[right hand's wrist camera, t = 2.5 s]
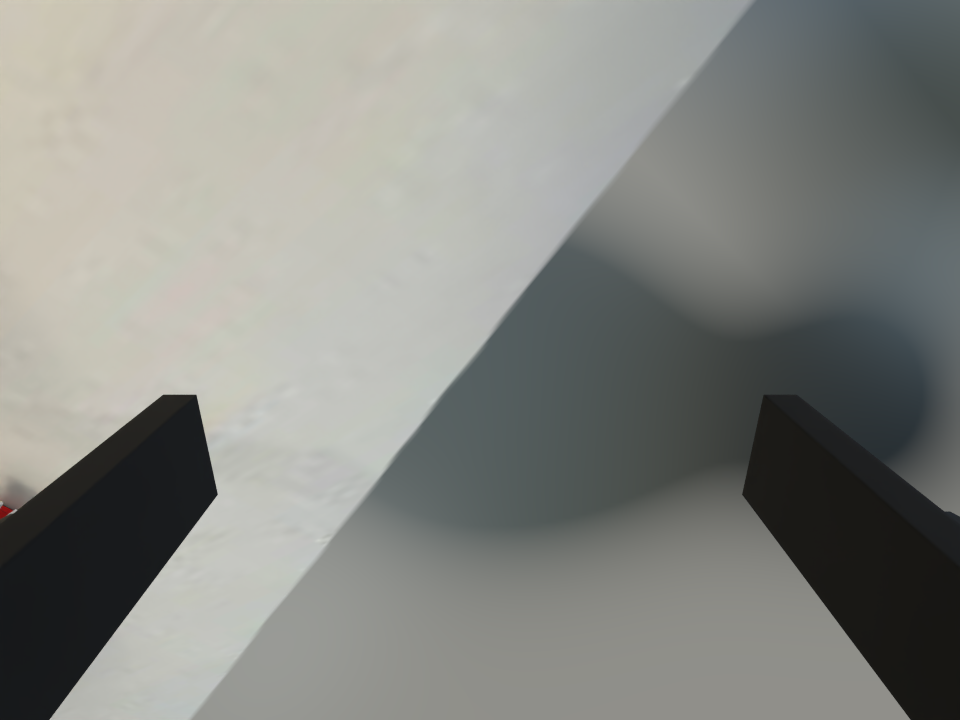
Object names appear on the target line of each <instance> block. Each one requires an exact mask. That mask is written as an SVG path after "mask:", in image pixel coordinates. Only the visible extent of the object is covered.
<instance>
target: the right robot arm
mask: <svg viewBox="0 0 960 720" xmlns="http://www.w3.org/2000/svg"><path fill="white" fill-rule="evenodd" d="M217 495H218V494H217V489H216V484H215V480H214V475H213V470H212V466H211V461H210V456H209V452H208V447H207V442H206V438H205V433H204V428H203V424H202V419H201V414H200V410H199V405H198V400H197V396H196V395H162V396H161V397H160V398H159V399H157V400H156V401H155V402H154V403H152V404H151V405H150V406H148V407H147V408H146V409H145V410H143V411H142V412H141V413H140V414H138V415H137V416H136V417H135V418H133V419H132V420H131V421H130V422H128V423H127V424H126V425H125V426H123V427H122V428H121V429H119V430H118V431H117V432H116V433H114V434H113V435H112V436H111V437H109V438H108V439H107V440H106V441H104V442H103V443H102V444H101V445H99V446H98V447H97V448H95V449H94V450H93V451H92V452H90V453H89V454H88V455H87V456H85V457H84V458H83V459H82V460H80V461H79V462H78V463H77V464H75V465H74V466H73V467H71V468H70V469H69V470H68V471H66V472H65V473H64V474H63V475H61V476H60V477H59V478H58V479H56V480H55V481H54V482H53V483H51V484H50V485H49V486H47V487H46V488H45V489H44V490H42V491H41V492H40V493H39V494H37V495H36V496H35V497H34V498H32V499H31V500H30V501H29V502H27V503H26V504H25V505H24V506H22V507H21V508H20V509H18V510H17V511H16V512H15V513H13V514H9V515H7V516H5V517H3V518H1V519H0V720H49V719H50V718H51V717H52V715H53V714H54V713H55V711H56V710H57V709H58V707H59V706H60V705H61V703H62V702H63V701H64V699H65V698H66V697H67V695H68V694H69V693H70V691H71V690H72V689H73V687H74V686H75V685H76V683H77V682H78V681H79V679H80V678H81V677H82V675H83V674H84V673H85V671H86V670H87V669H88V667H89V666H90V665H91V663H92V662H93V661H94V659H95V658H96V657H97V655H98V654H99V653H100V651H101V650H102V649H103V647H104V646H105V645H106V643H107V642H108V641H109V639H110V638H111V637H112V635H113V634H114V633H115V631H116V630H117V629H118V627H119V626H120V625H121V623H122V622H123V620H124V619H125V618H126V616H127V615H128V614H129V612H130V611H131V610H132V608H133V607H134V606H135V604H136V603H137V602H138V600H139V599H140V598H141V596H142V595H143V594H144V592H145V591H146V590H147V588H148V587H149V586H150V584H151V583H152V582H153V580H154V579H155V578H156V576H157V575H158V574H159V572H160V571H161V570H162V568H163V567H164V566H165V564H166V563H167V562H168V560H169V559H170V558H171V556H172V555H173V554H174V552H175V551H176V550H177V548H178V547H179V546H180V544H181V543H182V542H183V540H184V539H185V538H186V536H187V535H188V534H189V532H190V531H191V530H192V528H193V527H194V526H195V524H196V523H197V522H198V520H199V519H200V518H201V516H202V515H203V514H204V512H205V511H206V510H207V508H208V507H209V506H210V504H211V503H212V502H213V500H214V499H215V498H216V496H217ZM742 495H743V496H744V497H745V499H746V500H747V502H748V503H749V504H750V505H751V507H752V508H753V510H754V511H755V512H756V514H757V515H758V516H759V518H760V519H761V520H762V522H763V523H764V524H765V526H766V527H767V528H768V530H769V531H770V532H771V534H772V535H773V536H774V538H775V539H776V540H777V542H778V543H779V544H780V546H781V547H782V548H783V550H784V551H785V552H786V554H787V555H788V556H789V558H790V559H791V560H792V562H793V563H794V564H795V566H796V567H797V568H798V570H799V571H800V572H801V574H802V575H803V576H804V578H805V579H806V580H807V582H808V583H809V584H810V586H811V587H812V588H813V590H814V591H815V592H816V594H817V595H818V596H819V598H820V599H821V600H822V602H823V603H824V604H825V606H826V607H827V608H828V610H829V611H830V612H831V614H832V615H833V616H834V618H835V619H836V620H837V622H838V623H839V625H840V626H841V627H842V629H843V630H844V631H845V633H846V634H847V635H848V637H849V638H850V639H851V640H852V642H853V643H854V645H855V646H856V647H857V649H858V650H859V651H860V653H861V654H862V655H863V657H864V658H865V659H866V661H867V662H868V663H869V665H870V666H871V667H872V669H873V670H874V671H875V673H876V674H877V675H878V677H879V678H880V679H881V681H882V682H883V683H884V685H885V686H886V687H887V689H888V690H889V691H890V693H891V694H892V695H893V697H894V698H895V699H896V701H897V702H898V703H899V705H900V706H901V707H902V709H903V710H904V711H905V713H906V714H907V715H908V717H909V718H910V719H911V720H960V517H959V516H957V515H955V514H954V513H952V512H944V511H943V510H941V509H940V508H939V507H938V506H936V505H935V504H934V503H933V502H931V501H930V500H929V499H928V498H926V497H925V496H924V495H923V494H921V493H920V492H919V491H917V490H916V489H915V488H914V487H913V486H911V485H910V484H909V483H907V482H906V481H905V480H904V479H902V478H901V477H900V476H899V475H897V474H896V473H895V472H894V471H892V470H891V469H890V468H889V467H887V466H886V465H885V464H883V463H882V462H881V461H880V460H878V459H877V458H876V457H875V456H873V455H872V454H871V453H870V452H868V451H867V450H866V449H865V448H863V447H862V446H861V445H859V444H858V443H857V442H856V441H854V440H853V439H852V438H851V437H849V436H848V435H847V434H846V433H844V432H843V431H842V430H841V429H839V428H838V427H837V426H835V425H834V424H833V423H832V422H830V421H829V420H828V419H827V418H825V417H824V416H823V415H822V414H820V413H819V412H818V411H817V410H815V409H814V408H813V407H812V406H810V405H809V404H808V403H806V402H805V401H804V400H803V399H801V398H800V397H799V396H798V395H764V396H763V400H762V405H761V410H760V414H759V419H758V424H757V428H756V433H755V438H754V442H753V447H752V452H751V456H750V461H749V466H748V470H747V475H746V480H745V484H744V489H743V494H742Z"/></svg>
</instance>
